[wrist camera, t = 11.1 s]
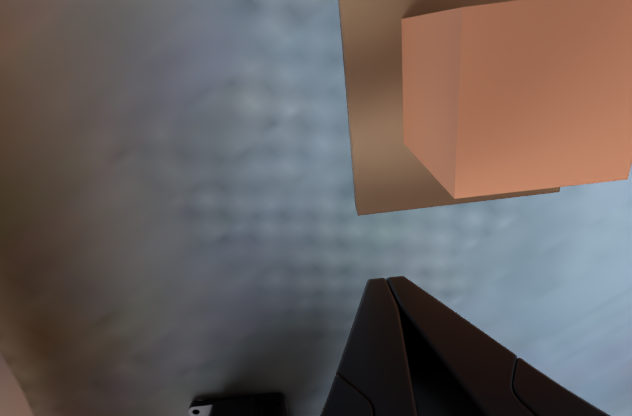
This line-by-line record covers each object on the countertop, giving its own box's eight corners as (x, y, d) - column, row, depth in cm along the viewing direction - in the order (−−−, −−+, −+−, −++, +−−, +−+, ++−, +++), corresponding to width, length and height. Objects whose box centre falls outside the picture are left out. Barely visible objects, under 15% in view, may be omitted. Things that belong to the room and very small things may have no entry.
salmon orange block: (516, 130, 17) (627, 179, 11) (403, 143, 18) (454, 198, 12) (530, 2, 15) (675, -20, 9) (401, 18, 15) (462, 6, 9)
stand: (547, 184, 20) (663, 255, 13) (355, 207, 20) (378, 287, 14) (588, -103, 15) (804, -209, 8) (332, -67, 15) (352, -144, 9)
